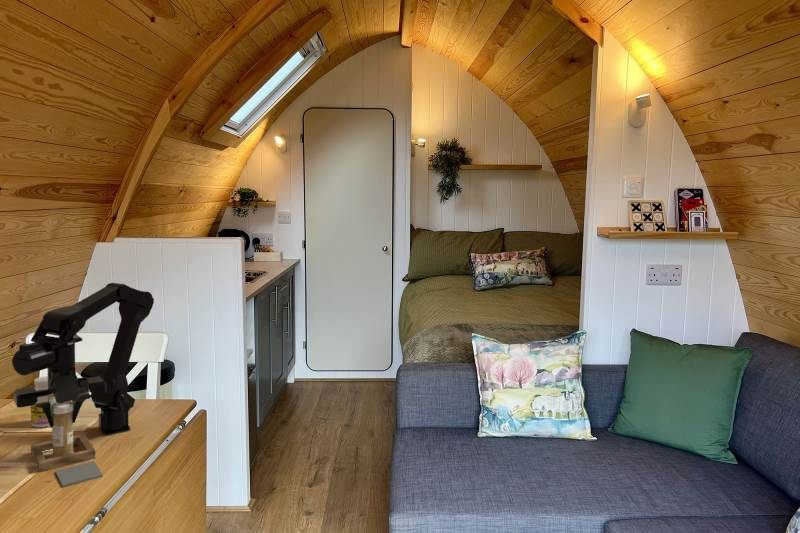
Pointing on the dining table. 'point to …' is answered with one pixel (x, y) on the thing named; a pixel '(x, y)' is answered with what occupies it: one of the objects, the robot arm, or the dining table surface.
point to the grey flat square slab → (78, 473)
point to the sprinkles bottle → (62, 428)
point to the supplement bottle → (36, 412)
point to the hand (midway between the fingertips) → (62, 424)
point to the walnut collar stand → (65, 459)
